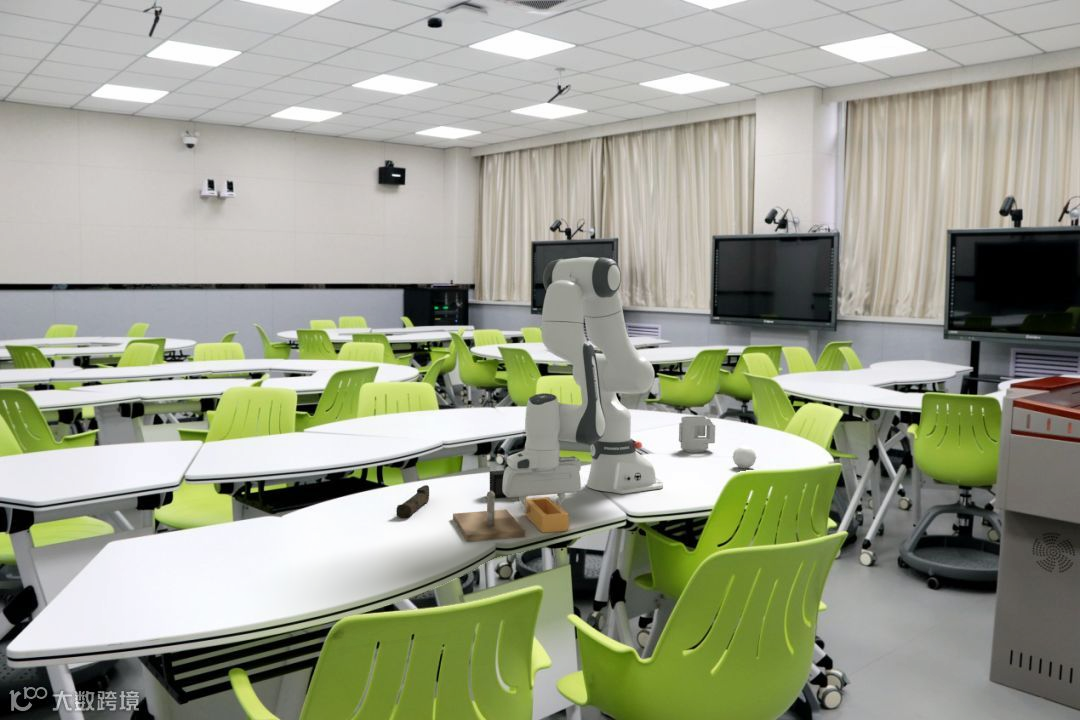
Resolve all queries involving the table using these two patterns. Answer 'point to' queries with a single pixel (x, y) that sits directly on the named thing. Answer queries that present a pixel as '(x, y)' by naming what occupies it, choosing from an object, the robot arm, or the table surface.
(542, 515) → the small orange storage bin
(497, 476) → the digital camera
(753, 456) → the grey rounded knob
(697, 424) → the cable organizer
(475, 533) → the board
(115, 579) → the table surface
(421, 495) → the brown wooden log
